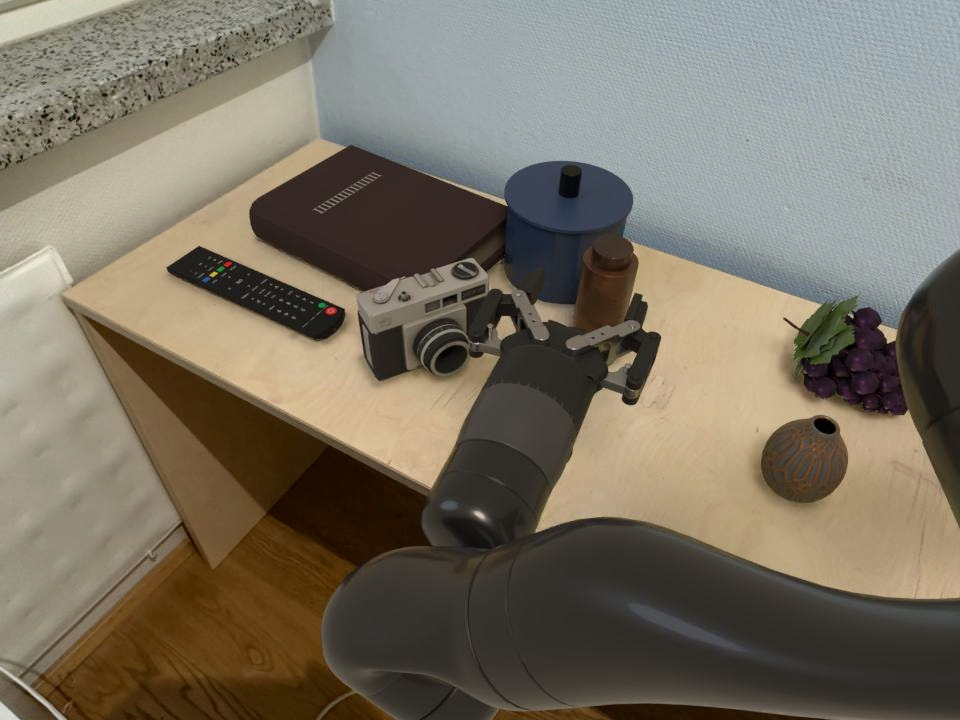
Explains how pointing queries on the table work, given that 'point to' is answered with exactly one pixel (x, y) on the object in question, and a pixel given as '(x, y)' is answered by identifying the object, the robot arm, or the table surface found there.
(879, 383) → the fruit
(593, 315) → the pepper mill
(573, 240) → the pot
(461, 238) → the brown slab
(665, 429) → the table surface
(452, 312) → the camera
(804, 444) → the vase
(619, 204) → the pot lid
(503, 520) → the robot arm
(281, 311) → the remote control
